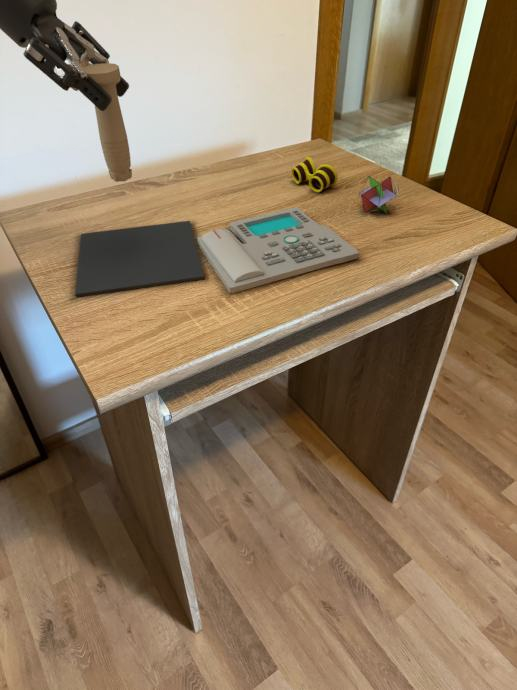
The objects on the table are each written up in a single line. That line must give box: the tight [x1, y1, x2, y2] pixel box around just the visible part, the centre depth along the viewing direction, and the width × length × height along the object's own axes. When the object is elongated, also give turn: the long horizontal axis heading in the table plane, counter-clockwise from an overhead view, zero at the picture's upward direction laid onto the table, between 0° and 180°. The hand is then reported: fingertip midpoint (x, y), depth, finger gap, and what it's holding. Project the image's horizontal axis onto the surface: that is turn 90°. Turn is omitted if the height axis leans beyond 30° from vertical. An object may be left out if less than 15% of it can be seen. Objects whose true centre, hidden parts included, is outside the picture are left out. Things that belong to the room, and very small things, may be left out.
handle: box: [83, 62, 133, 183], centre depth 70 cm, size 5×6×15 cm
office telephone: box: [197, 207, 360, 294], centre depth 84 cm, size 23×3×20 cm
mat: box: [74, 220, 206, 298], centre depth 83 cm, size 20×20×1 cm
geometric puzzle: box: [358, 175, 400, 214], centre depth 93 cm, size 7×7×8 cm
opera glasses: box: [290, 156, 339, 193], centre depth 104 cm, size 10×5×5 cm, turn 39°
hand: (116, 98), depth 67 cm, fingers closed on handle, 6 cm apart
